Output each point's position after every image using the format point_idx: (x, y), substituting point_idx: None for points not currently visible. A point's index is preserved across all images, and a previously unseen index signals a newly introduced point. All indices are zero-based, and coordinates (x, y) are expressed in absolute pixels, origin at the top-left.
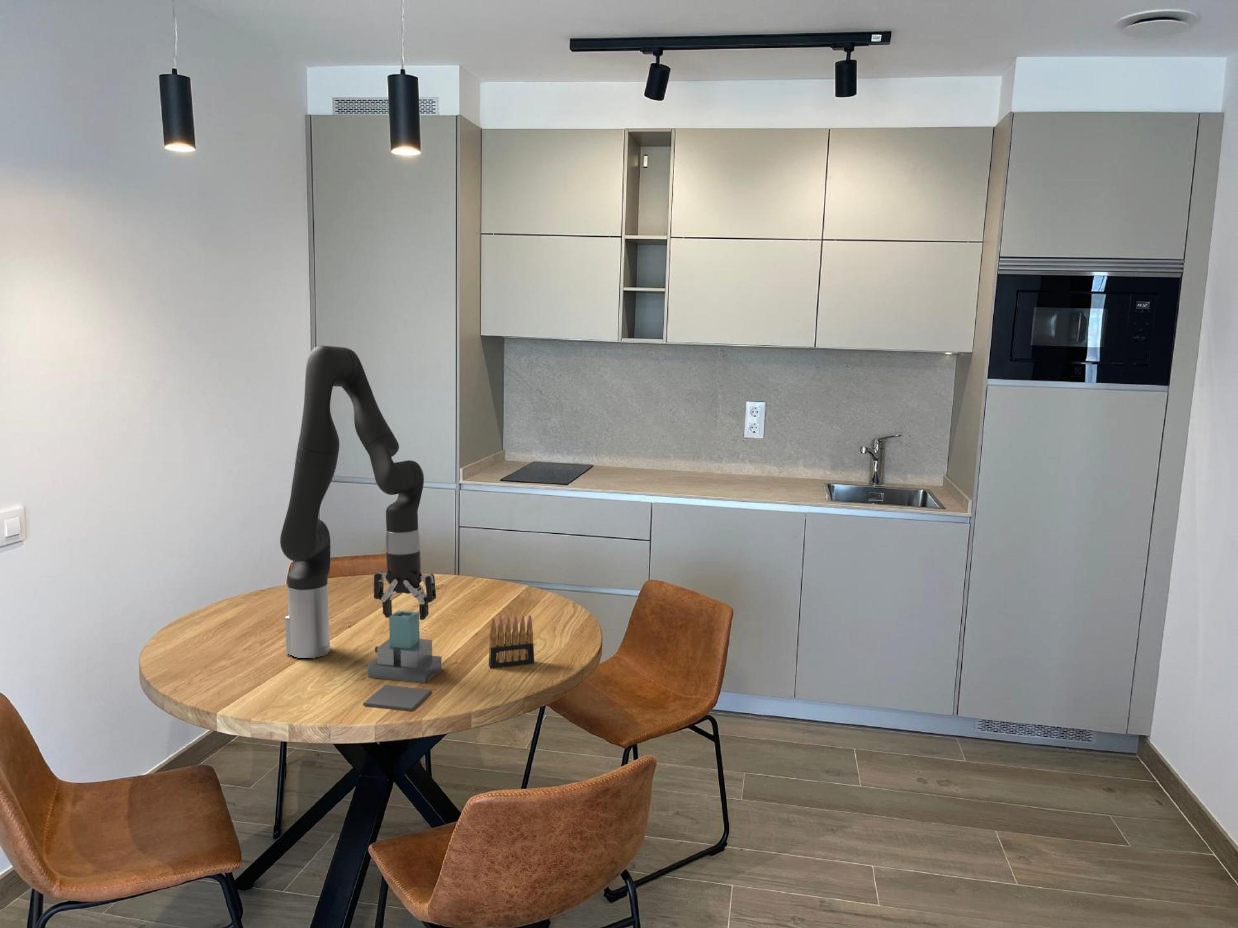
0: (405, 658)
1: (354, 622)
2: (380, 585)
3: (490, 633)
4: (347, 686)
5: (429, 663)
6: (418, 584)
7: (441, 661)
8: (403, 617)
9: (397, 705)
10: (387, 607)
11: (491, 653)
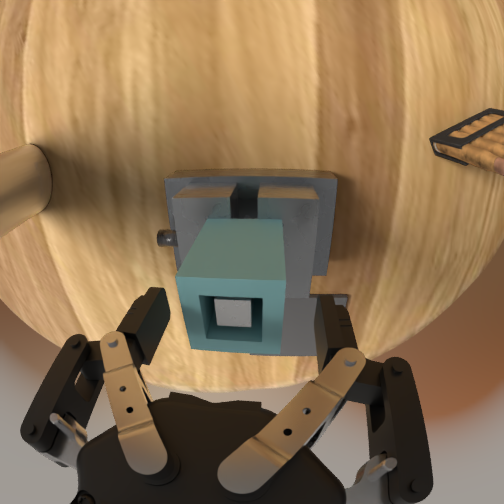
0: None
1: (25, 19)
2: (81, 410)
3: (486, 165)
4: (178, 299)
5: (322, 234)
6: (311, 456)
7: (334, 176)
8: (249, 348)
9: (307, 353)
10: (156, 347)
11: (457, 161)
